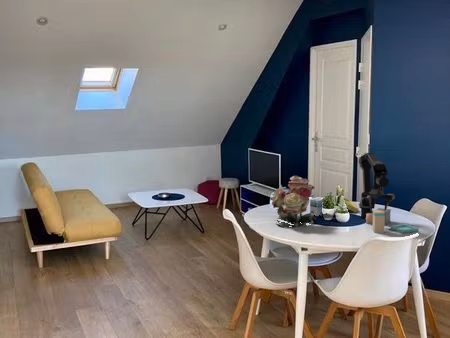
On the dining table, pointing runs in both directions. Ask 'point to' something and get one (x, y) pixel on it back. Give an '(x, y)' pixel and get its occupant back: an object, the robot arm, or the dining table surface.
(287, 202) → the rose bouquet
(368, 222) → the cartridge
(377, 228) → the carton
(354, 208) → the plastic component
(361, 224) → the dining table surface
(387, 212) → the grey box
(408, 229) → the tray
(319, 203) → the light bulb box
